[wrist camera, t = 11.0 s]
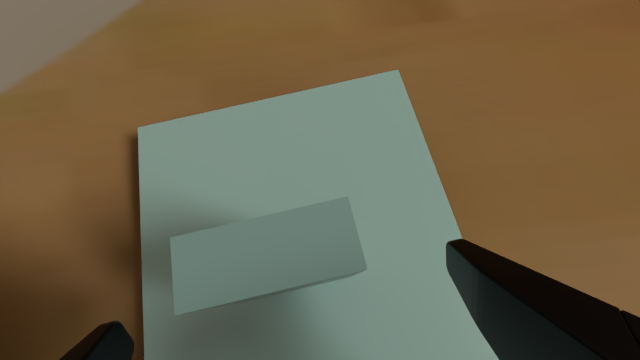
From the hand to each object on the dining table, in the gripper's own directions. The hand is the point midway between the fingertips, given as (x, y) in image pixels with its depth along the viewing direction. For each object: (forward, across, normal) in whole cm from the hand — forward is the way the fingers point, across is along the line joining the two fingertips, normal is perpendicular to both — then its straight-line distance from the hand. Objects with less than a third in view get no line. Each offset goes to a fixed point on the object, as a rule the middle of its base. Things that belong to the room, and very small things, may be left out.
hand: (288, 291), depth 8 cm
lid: (+5, 0, +4) cm, 7 cm away
